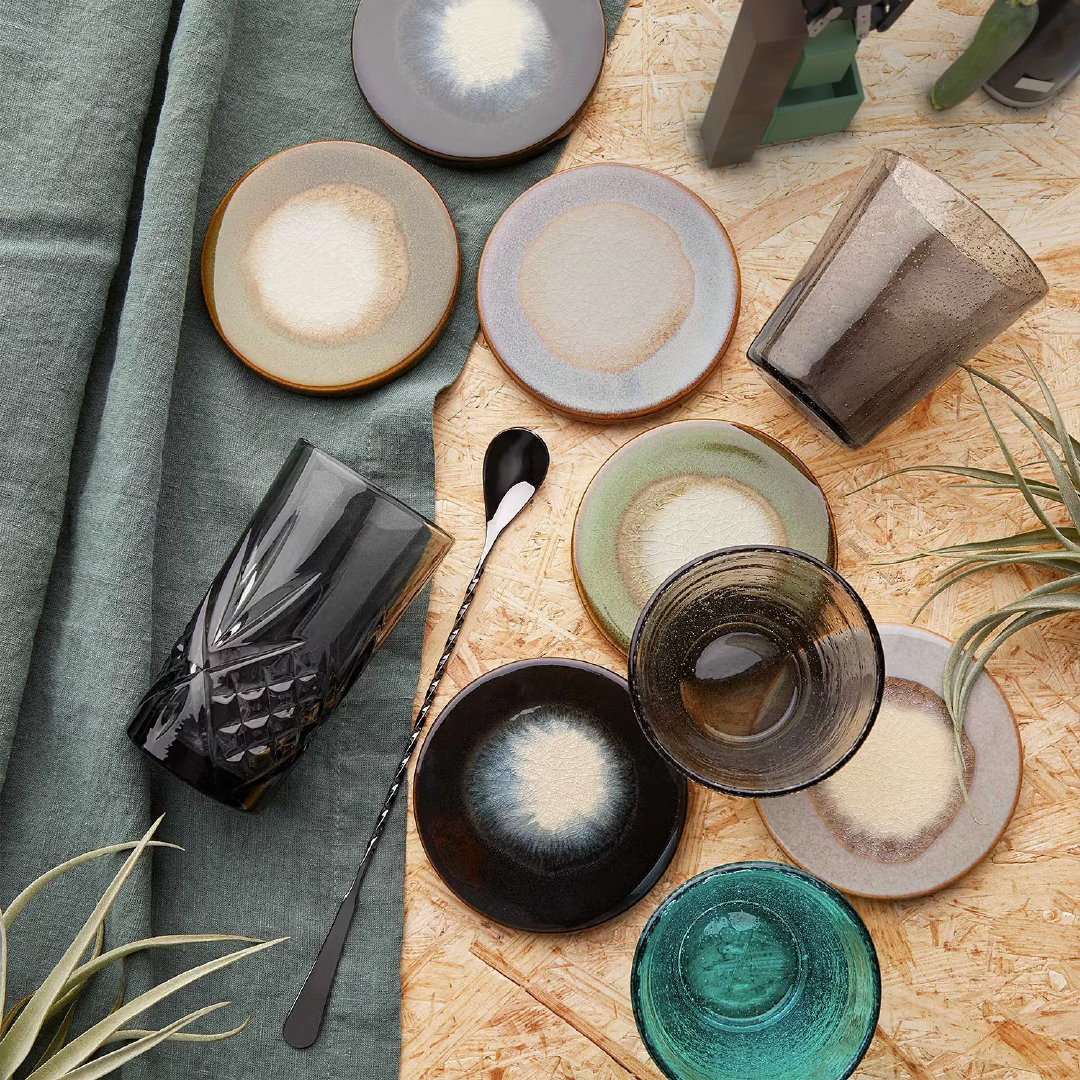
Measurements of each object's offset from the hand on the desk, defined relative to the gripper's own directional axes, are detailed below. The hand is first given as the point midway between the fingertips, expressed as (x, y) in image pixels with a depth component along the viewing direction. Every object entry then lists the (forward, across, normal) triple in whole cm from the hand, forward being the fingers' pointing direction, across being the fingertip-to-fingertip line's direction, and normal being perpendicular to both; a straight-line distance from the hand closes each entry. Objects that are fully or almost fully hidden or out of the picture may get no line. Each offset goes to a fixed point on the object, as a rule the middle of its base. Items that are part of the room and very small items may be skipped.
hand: (811, 58), depth 90 cm
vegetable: (+6, +15, -4) cm, 17 cm away
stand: (+6, -8, -4) cm, 11 cm away
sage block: (0, 0, 0) cm, 0 cm away
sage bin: (+6, 0, 0) cm, 6 cm away
